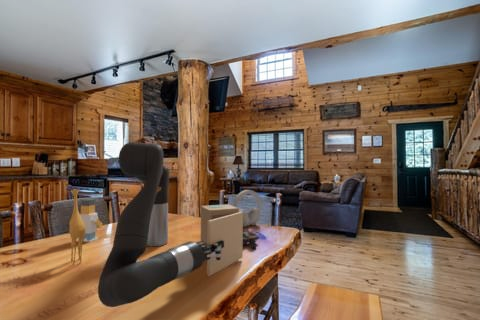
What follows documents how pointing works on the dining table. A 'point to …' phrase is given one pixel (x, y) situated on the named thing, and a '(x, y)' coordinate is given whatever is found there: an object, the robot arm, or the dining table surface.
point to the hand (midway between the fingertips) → (220, 243)
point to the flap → (225, 240)
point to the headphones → (253, 213)
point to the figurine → (250, 238)
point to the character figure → (90, 219)
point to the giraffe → (76, 228)
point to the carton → (214, 216)
